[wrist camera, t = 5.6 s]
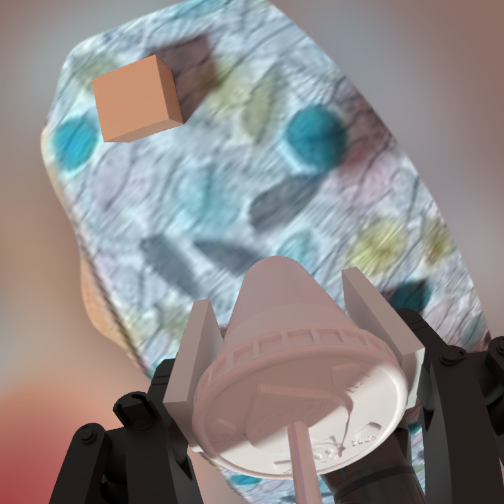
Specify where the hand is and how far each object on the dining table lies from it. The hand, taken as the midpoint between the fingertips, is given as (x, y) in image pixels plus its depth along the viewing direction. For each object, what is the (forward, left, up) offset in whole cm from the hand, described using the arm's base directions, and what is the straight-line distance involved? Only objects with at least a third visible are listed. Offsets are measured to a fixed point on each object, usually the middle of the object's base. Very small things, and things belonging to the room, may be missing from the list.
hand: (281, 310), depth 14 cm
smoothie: (0, 0, -3) cm, 3 cm away
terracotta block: (+13, +7, -13) cm, 20 cm away
